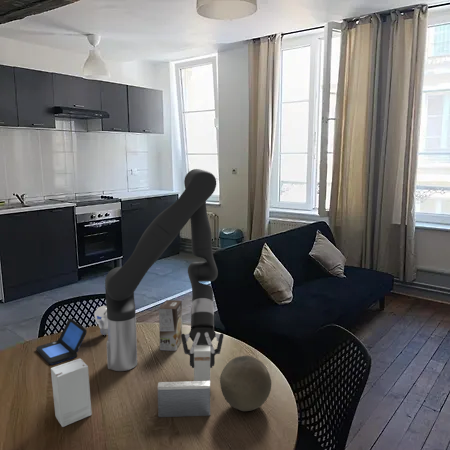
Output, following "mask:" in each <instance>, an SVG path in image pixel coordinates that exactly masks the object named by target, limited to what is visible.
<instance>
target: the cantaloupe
mask: <svg viewBox="0 0 450 450" xmlns="http://www.w3.org/2000/svg"><path fill="white" fill-rule="evenodd" d="M220 373H221V374H220V376H219V383H220V384H219V385H220V389H221V394H222V396H223V398H224V400H225V401H226V402H227V404H229V406H230V407H231V408H234V409H235V410H239V411H241V412H250V411H254V410H256V409H258V408H260V407H262V406H263V405H264V404H265V402H267V399H268V398H269V396H270V393H271V391H272V379H271V374H270V373H269V370H268V368H267V367H266V365H265V364H264V362H262V361H261V360H259V359H258V358H256V357H254V356H252V355H240V356H237V357H236V356H235V357H234V358H232V359H231V360H229V361H228V362H226V365H225V366H224V367H223V369H222V370H221V372H220Z"/></svg>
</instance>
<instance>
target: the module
mask: <svg viewBox="0 0 450 450" xmlns="http://www.w3.org/2000/svg"><path fill="white" fill-rule="evenodd" d="M193 381H210V382H211V368H210V346H208V345H196V346H194V368H193Z"/></svg>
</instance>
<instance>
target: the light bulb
mask: <svg viewBox="0 0 450 450" xmlns="http://www.w3.org/2000/svg"><path fill="white" fill-rule="evenodd" d="M94 320H95V321H96V323H97V324H98V327H99V334H100V335H102V336H103V335H104V337H105V335H106V336H108V325H107V309H106V305H102V306H101V305H100V306H99V307H98V308H97V309H95V312H94Z"/></svg>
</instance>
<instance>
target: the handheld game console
mask: <svg viewBox="0 0 450 450" xmlns="http://www.w3.org/2000/svg"><path fill="white" fill-rule="evenodd" d="M87 332H88V331H87V329H86V328H85V327H84V326H82V325H81V324H80V323H78V322H77V321H75V320H74V319H73V318H69V319H68V320H67V322H66V324H65V326H64V328H63V330H62V332H61V334H60V336H59V337H58V339H57V340H54V341H52V342H48V343H44V344H41V345H38V346H37V347H36V351H37V352H38V354H39V355H40V356H41V357H42V358H44V359H43V360H44V361H46V362H47V363H48V364H49V365H56V364H60V363H62V362H66V361H70V360H72V359H74V358H76V359H77V358H78V352H79V349H80V347H81V345H82V343H83V341H84V339H85V337H86V336H87V335H86V334H87Z"/></svg>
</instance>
